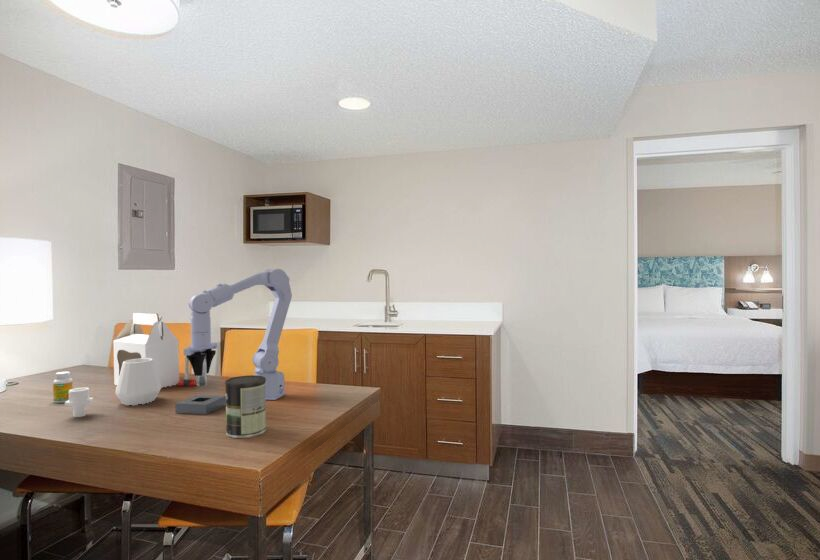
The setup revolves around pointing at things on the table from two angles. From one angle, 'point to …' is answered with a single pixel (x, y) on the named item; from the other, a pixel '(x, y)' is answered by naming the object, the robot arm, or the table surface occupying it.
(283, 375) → the robot arm
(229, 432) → the coffee can
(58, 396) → the supplement bottle
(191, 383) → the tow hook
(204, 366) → the pin
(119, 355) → the gable box
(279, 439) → the table surface
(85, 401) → the pipe fitting
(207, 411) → the clevis block
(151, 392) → the cup
